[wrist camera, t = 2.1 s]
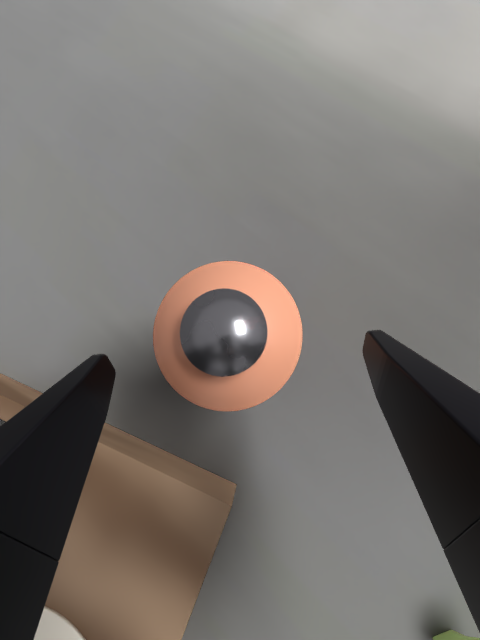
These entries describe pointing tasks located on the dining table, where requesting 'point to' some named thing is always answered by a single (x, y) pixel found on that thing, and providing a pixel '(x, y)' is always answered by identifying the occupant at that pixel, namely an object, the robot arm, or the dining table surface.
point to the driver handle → (227, 336)
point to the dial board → (131, 539)
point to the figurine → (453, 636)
